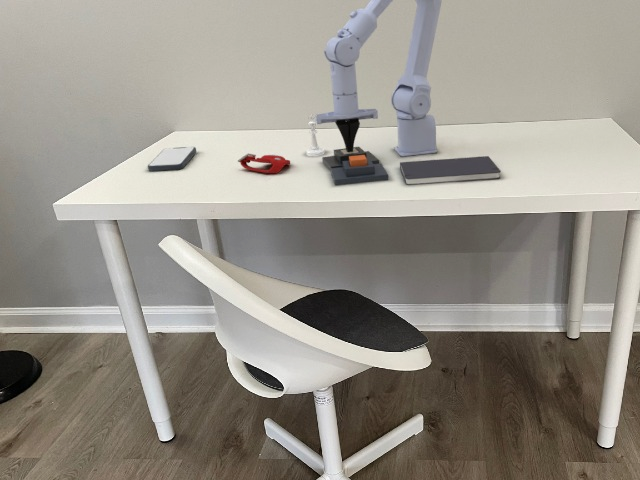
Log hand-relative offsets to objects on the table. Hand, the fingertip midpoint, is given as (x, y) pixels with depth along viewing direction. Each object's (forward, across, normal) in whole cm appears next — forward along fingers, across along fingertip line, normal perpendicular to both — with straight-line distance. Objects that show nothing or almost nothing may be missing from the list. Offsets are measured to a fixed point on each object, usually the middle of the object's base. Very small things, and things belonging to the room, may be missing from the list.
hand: (349, 151), depth 151 cm
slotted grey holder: (+3, 0, +11) cm, 11 cm away
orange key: (0, 0, +11) cm, 11 cm away
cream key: (+2, 0, 0) cm, 2 cm away
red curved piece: (+3, +20, -4) cm, 21 cm away
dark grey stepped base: (+3, 0, 0) cm, 3 cm away
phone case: (+3, +43, -20) cm, 48 cm away
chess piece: (+3, +7, -13) cm, 15 cm away
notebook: (+3, -20, +16) cm, 26 cm away
